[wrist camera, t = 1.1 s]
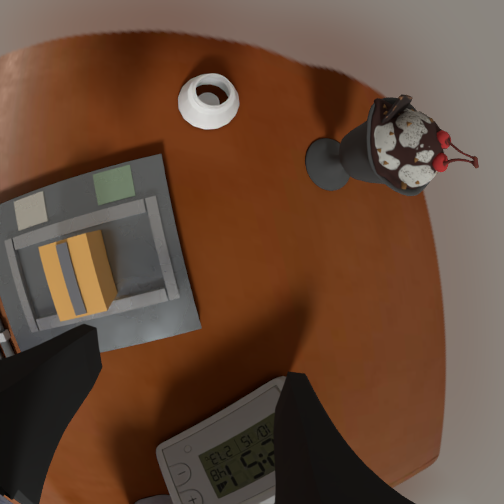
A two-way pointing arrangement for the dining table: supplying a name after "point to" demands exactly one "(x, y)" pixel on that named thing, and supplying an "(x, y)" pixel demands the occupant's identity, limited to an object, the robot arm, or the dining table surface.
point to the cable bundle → (5, 341)
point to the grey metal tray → (117, 248)
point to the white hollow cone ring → (208, 102)
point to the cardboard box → (79, 275)
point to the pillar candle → (156, 500)
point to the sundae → (384, 150)
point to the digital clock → (226, 454)
